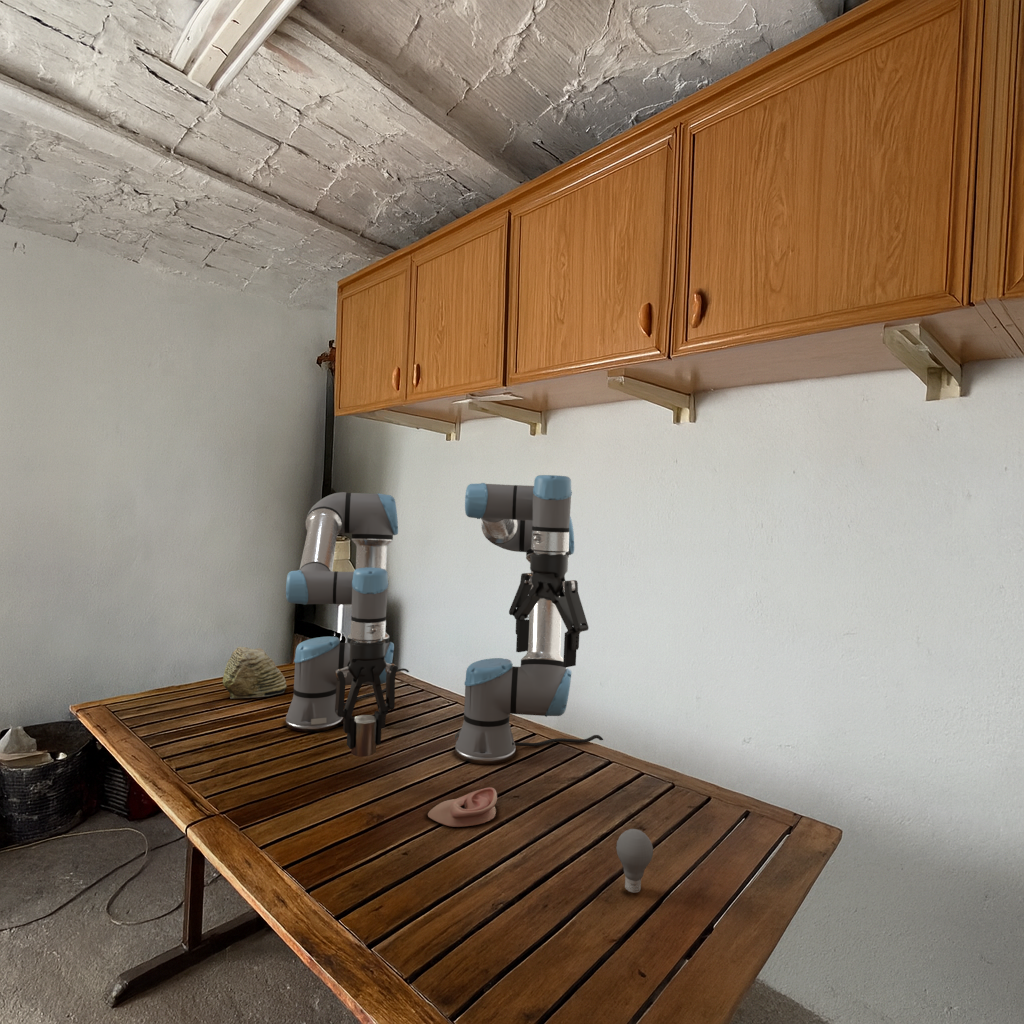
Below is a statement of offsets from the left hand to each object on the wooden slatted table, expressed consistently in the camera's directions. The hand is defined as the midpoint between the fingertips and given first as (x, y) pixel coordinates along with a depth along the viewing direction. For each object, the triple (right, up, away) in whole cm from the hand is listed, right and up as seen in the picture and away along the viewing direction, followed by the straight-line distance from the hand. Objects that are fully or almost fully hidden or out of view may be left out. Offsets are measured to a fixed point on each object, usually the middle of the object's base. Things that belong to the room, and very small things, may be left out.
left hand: (363, 744), depth 139 cm
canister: (0, -2, 0) cm, 2 cm away
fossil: (-48, -6, +59) cm, 76 cm away
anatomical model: (+23, -11, -10) cm, 27 cm away
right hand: (+39, +22, -12) cm, 46 cm away
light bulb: (+53, -12, -33) cm, 63 cm away
